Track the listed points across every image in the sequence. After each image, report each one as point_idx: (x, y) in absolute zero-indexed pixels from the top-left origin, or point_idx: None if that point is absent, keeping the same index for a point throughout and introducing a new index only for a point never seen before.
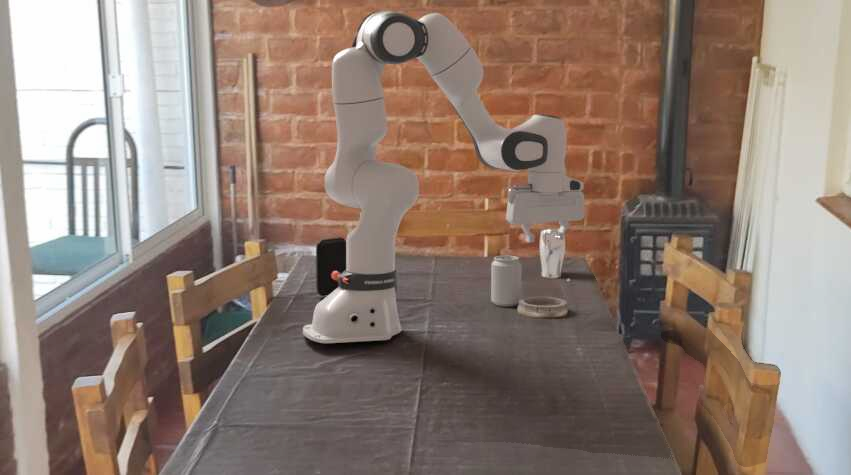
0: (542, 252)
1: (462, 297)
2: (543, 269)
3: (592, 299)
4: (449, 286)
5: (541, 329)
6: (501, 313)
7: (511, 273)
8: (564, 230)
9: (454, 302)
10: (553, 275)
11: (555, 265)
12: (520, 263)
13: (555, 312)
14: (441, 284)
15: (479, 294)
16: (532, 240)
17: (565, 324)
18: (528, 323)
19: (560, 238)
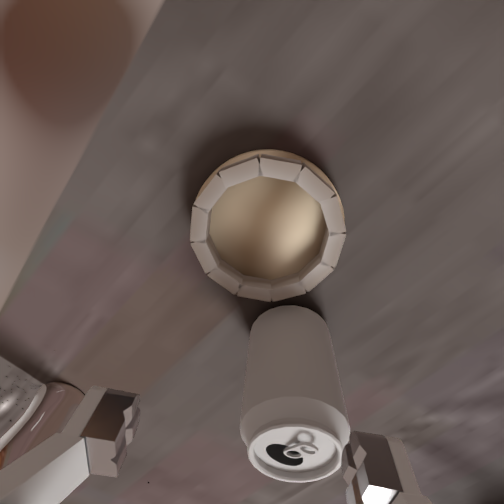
0: None
1: None
2: None
3: (46, 252)
4: None
5: (457, 41)
6: (377, 271)
7: (314, 377)
8: (51, 453)
9: (377, 396)
10: (53, 408)
11: (32, 431)
12: (261, 408)
13: (281, 157)
14: (277, 489)
15: None
16: (378, 442)
17: (329, 51)
18: (417, 138)
19: (124, 397)
